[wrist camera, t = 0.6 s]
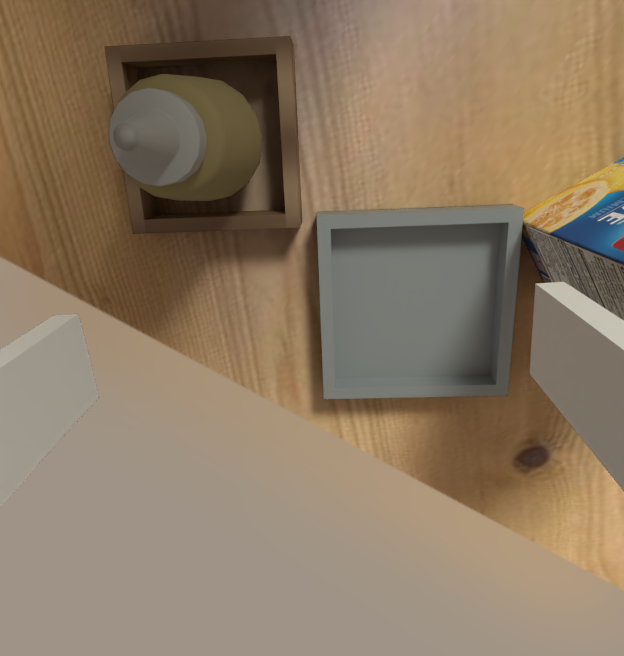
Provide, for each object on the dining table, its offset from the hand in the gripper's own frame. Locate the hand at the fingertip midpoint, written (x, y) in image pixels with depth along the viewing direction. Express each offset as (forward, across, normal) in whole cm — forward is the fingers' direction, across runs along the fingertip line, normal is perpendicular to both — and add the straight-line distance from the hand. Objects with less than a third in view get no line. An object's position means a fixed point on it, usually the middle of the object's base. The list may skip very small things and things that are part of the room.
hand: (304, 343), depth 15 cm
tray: (+27, +7, -8) cm, 29 cm away
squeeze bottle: (+28, -8, +6) cm, 30 cm away
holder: (+28, -8, +6) cm, 29 cm away
